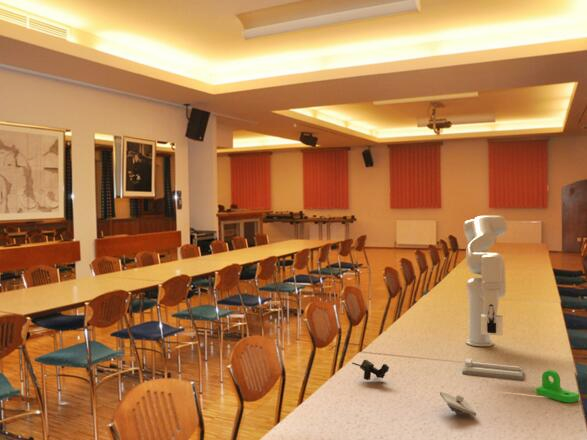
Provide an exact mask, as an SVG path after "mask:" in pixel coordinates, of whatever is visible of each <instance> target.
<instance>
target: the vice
mask: <svg viewBox="0 0 587 440" xmlns="http://www.w3.org/2000/svg"><path fill="white" fill-rule="evenodd" d="M351 364H352V365H355V366H358V367H359V368H360V369H361V370H362V371H363V380H366V381H370V380H371V375H372V374H374V375H375V376H376V378H381V379H382V380H383V379H384V378H385V376H386V373H388V372H389V369H390V366H388V364H386V363H383V364H382V366H381V367H380V369H378V368H377V367H374V366H375V364H374V363H372V362H371V361H369V359H363V361H362V363H361V364H358V363H355V362H352V363H351Z"/></svg>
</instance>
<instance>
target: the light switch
mask: <svg viewBox="0 0 587 440" xmlns="http://www.w3.org/2000/svg"><path fill="white" fill-rule="evenodd" d="M439 396H440V397H441V398H442V399H443V401H444V402H445V403H446V405H447V407H448V408H449V409H450V410H451V411H452V412H454V413H455V414H457V415H462V414H463V413H466V414H469V415H472V416H474V417H476V416H477V412H476V411H475V410H474V408H472V406H471V404H469V403H468V401H466V400H464V399H465V397H464V396H462V395H461V394H456V396H453V395H450V394H447V393H445V392H442V391H440V392H439Z"/></svg>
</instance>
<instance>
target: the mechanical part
mask: <svg viewBox="0 0 587 440" xmlns="http://www.w3.org/2000/svg"><path fill="white" fill-rule="evenodd" d="M550 377H551V378H552V379H553V381H551V380H550ZM535 394H537V395H541V396H542V397H546V398H549V399H553V400H556V401H559V402H563V403H568V404H569V403H575V402H577V401H580V393H577V392H574V391H569V390H566V389H563V388H562V387H561V377H560V374H559V373H558V372H557V371H555V370H554V369H549V370H546V371H544V372H542V376H541V386H539V387H536V389H535Z"/></svg>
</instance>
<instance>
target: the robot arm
mask: <svg viewBox="0 0 587 440" xmlns="http://www.w3.org/2000/svg"><path fill="white" fill-rule="evenodd" d="M507 229H508V223H507V221H506V218H505V217H504V216H503V215H478V216H476V217H475V218H474V219H473V218H472V219H468V220H465V221H464V223H463V233H464V237H465V239H466V241H467V246H466V249H465V258H466V259H465V260H466V265H467V268H468V269H469V270H470V271H469V272H470V273H471V274H472V275H475V276H477V275H478V276H481V277H472V278H469V279H468V280H467V282H466V292H467V299H468V338H466V339H465V343H466V345H469V346H472V347H473V346H474V347H492V346H493V345H494V341H493V340H491V335H488V334H481V315H482V314H484V315H486V314H488V322H487V332H488V333H496V323H495V316H496V315H498V313H499V312H498V311H499V299H502V298H504V297H505V296H506V292H507V291H506V290H507V289H506V287H507V285H506V264H505V258H504V257H503V255H502V254H501V253H499V252H489V251H488V249H490V248H492V247H493V246H494V244H495V243H496V238H499V237H500V238H501V237H502V236H504V235H505V234H506V233H507Z"/></svg>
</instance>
